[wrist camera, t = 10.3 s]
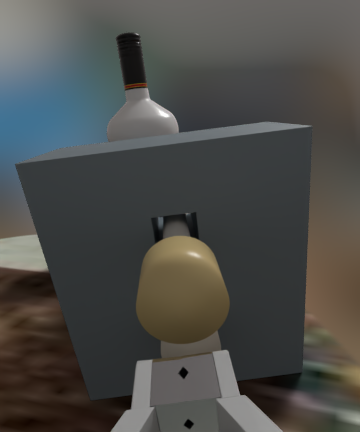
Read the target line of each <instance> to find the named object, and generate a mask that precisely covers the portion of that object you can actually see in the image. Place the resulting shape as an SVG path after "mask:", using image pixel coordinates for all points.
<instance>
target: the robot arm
mask: <svg viewBox="0 0 360 432" xmlns="http://www.w3.org/2000/svg"><path fill="white" fill-rule="evenodd" d="M111 432H283V431H282V430H281V429H280V428H279V427H278V426H277V425H276V424H275V423H274V422H273V421H271V420H270V419H269V418H268V417H267V416H266V415H265V414H264V413H263V412H262V411H261V410H260V409H259V408H258V407H257V406H256V405H255V404H254V403H253V402H252V401H251V400H250V399H249V398H248V397H247V396H246V395H240V393H239V389H238V385H237V382H236V378H235V374H234V370H233V367H232V363H231V359H230V355H229V352H228V351H227V350H221V351H214V352H206V353H199V354H192V355H185V356H179V357H169V358H159V359H152V360H142V361H137V364H136V369H135V377H134V386H133V394H132V403H131V410H126V411H125V412H124V414H123V415H122V416H121V418H120V419H119V421H118V422H117V423H116V425H115V426H114V428H113V429H112V430H111Z"/></svg>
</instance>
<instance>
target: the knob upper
mask: <svg viewBox="0 0 360 432" xmlns="http://www.w3.org/2000/svg"><path fill="white" fill-rule="evenodd" d="M229 306H230V301H229V295H228V292H227V289H226V286H225V283H224V280H223V278H222V275H221V272H220V269H219V266H218V263H217V260H216V258H215V255H214V253H213V252H212V250H211V249H210V248H209V247H208V246H207V245H206V244H205V243H203V242H202V241H200V240H198V239H196V238H192V237H190V233H189V228H188V224H187V219H186V214H177V215H169V216H163V240H161V241H159V242H157V243H156V244H155V245H153V246H152V247H151V248H150V249H149V250H148V252H147V253H146V255H145V257H144V259H143V262H142V267H141V274H140V280H139V287H138V294H137V300H136V313H137V317H138V319H139V321H140V323H141V325H142V326H143V328H144V329H145V330H146V331H147V332H148V333H149V334H150V335H152V336H153V337H155V338H157V339H159V340H161V341H164V342H168V343H173V344H189V343H194V342H198V341H201V340H203V339H205V338H207V337H209V336H211V335H212V334H213V333H215V332H216V331H217V330H218V329H219V328H220V327H221V326H222V324H223V323H224V321H225V319H226V317H227V315H228V312H229Z"/></svg>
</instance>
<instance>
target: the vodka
mask: <svg viewBox="0 0 360 432" xmlns="http://www.w3.org/2000/svg"><path fill="white" fill-rule="evenodd" d="M116 41H117V45H118V46H117V47H118V53H119V58H120V65H121V70H122V77H123V82H124V88H125V91H126V100H127V101H126V103H125V105H124V106H123V107H122V108H121V109H120V110H119V111H118V112H117V113H116V114H115V115H114V116H113V118H112V119H111V120H110V121H109V124H108V127H107V137H108V141H109V142H113V141H121V140H128V139H136V138H144V137H152V136H160V135H168V134H176V133H179V132H178V124H177V121H176V119H175V117H174V115H173V114H172V113H171V112H169V111H168V110H166V109H165V108H163V107H161V106H160V105H158V104H157V103H155V102H153V101H152V100H150V98H149V92H148V89H147V81H146V75H145V68H144V61H143V57H142V56H143V54H142V47H141V43H140V42H141V40H140V35H139V34H137V33H124V34H120V35H118V36H117V37H116ZM185 214H187V213H185ZM162 217H163V216H161V217H159V218H162Z"/></svg>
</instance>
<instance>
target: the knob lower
mask: <svg viewBox="0 0 360 432" xmlns="http://www.w3.org/2000/svg"><path fill="white" fill-rule="evenodd" d="M214 351H221V343H220V339H219V335H218V331H216V332H215V333H213V334H212V335H211V336H209V337H207V338H205V339H203V340H201V341H198V342H194V343H189V344H173V343H168V342H164V341H161V356H162V358H169V357H179V356H185V355H192V354H199V353H206V352H214Z"/></svg>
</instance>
